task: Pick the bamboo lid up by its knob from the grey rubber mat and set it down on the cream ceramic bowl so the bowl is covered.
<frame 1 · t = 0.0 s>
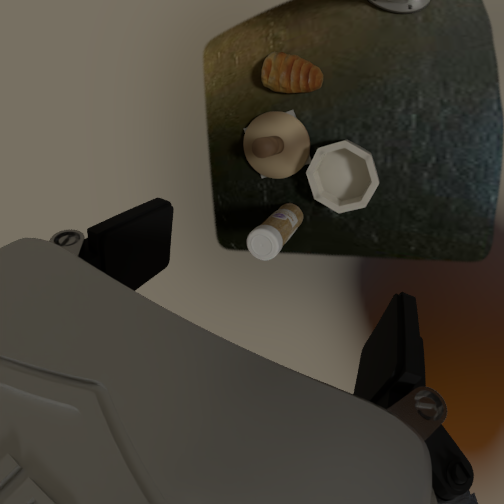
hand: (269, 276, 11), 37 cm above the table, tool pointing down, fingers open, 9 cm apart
bowl: (344, 173, 43), on the table
pastry: (291, 73, 40), on the table
lid: (276, 144, 45), resting on mat
sprinkles bottle: (290, 215, 50), on the table
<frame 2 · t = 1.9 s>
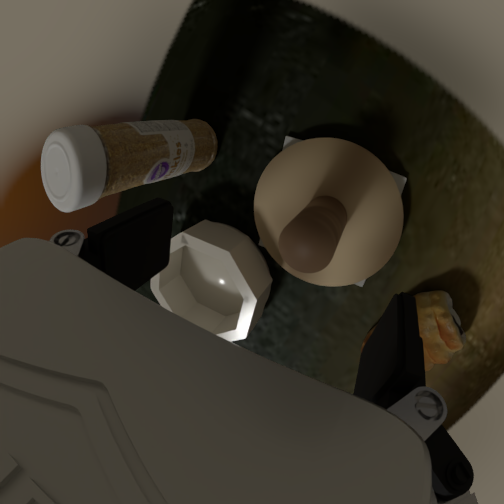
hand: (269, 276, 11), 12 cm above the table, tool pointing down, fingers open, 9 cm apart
bowl: (220, 273, 28), on the table
pastry: (417, 327, 22), on the table
lid: (328, 213, 21), resting on mat
sprinkles bottle: (197, 144, 24), on the table
mat: (328, 212, 21), on the table
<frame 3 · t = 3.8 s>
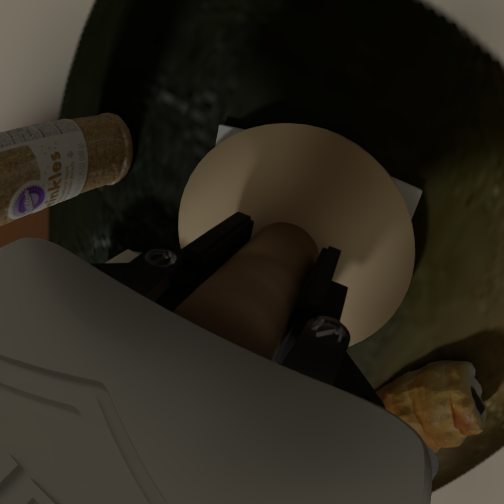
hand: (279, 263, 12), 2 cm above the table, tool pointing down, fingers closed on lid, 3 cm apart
pastry: (424, 396, 15), on the table
lid: (290, 248, 13), resting on mat, touching gripper
sprinkles bottle: (113, 146, 16), on the table
mat: (292, 244, 14), on the table
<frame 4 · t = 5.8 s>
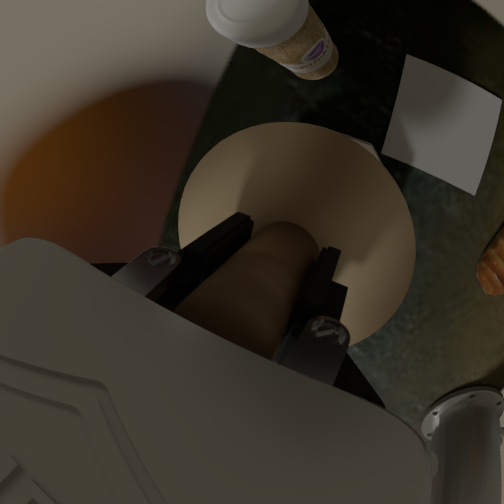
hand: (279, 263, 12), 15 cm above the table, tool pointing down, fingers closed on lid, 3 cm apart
lid: (290, 247, 13), point 13 cm above the table, touching gripper
sprinkles bottle: (313, 56, 20), on the table
mat: (445, 123, 18), on the table
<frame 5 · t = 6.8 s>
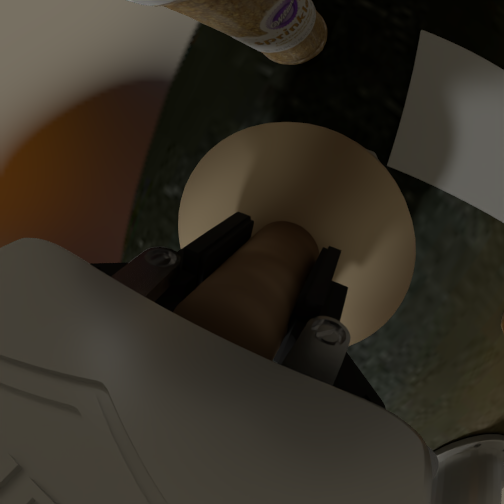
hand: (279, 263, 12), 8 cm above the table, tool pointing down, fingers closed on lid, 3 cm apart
lid: (290, 247, 13), point 6 cm above the table, touching gripper
sprinkles bottle: (293, 34, 14), on the table
mat: (474, 126, 12), on the table
when the fingers open (7 cm above the table, at t = 7.6 s): lid drops 1 cm, resting on bowl.
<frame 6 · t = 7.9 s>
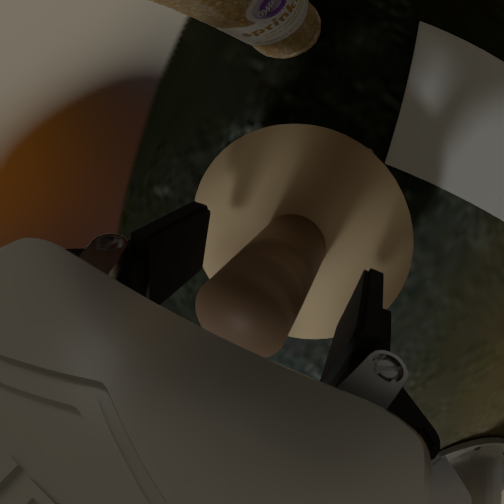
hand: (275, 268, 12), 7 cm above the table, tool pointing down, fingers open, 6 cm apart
lid: (298, 239, 14), point 4 cm above the table, touching bowl
sprinkles bottle: (285, 27, 14), on the table
mat: (476, 122, 11), on the table
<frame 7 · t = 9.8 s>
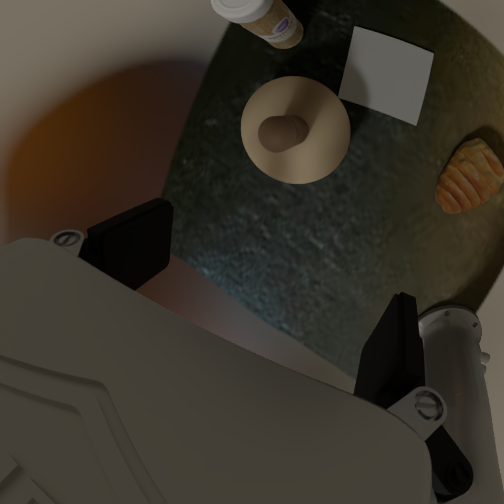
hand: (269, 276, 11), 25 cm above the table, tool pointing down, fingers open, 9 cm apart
pastry: (469, 174, 26), on the table
lid: (295, 129, 27), point 4 cm above the table, touching bowl
sprinkles bottle: (285, 32, 26), on the table
mat: (386, 74, 25), on the table
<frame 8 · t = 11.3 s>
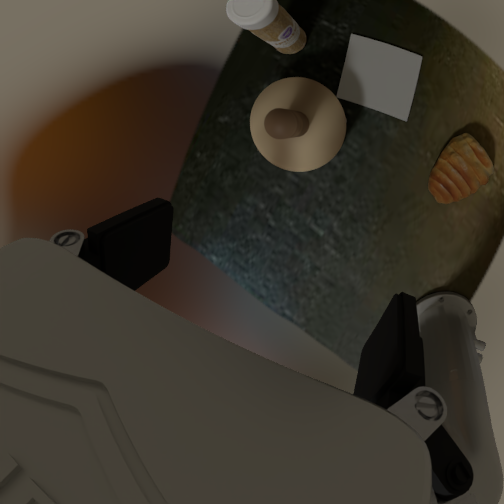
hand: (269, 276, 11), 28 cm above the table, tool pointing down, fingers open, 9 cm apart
pastry: (460, 168, 29), on the table
lid: (297, 123, 31), point 4 cm above the table, touching bowl
sprinkles bottle: (290, 39, 30), on the table
mat: (380, 75, 28), on the table
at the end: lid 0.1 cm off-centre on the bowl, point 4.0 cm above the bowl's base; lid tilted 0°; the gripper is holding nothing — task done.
